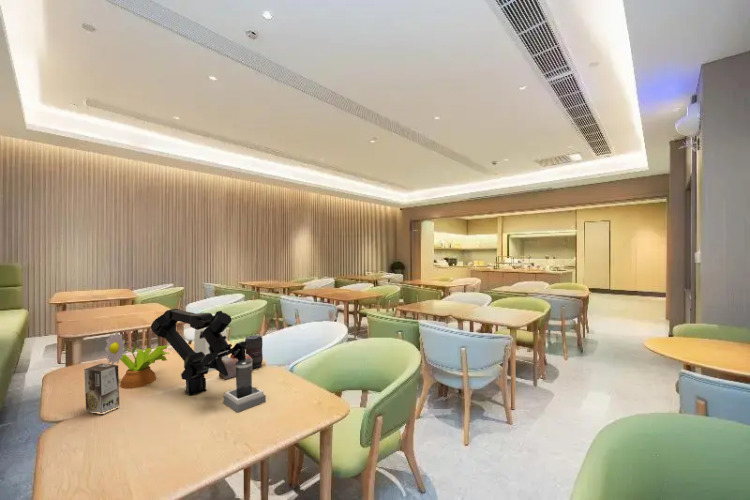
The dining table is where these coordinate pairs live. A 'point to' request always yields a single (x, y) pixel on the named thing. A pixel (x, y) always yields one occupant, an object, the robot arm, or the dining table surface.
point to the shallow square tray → (244, 399)
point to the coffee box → (101, 387)
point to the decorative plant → (138, 370)
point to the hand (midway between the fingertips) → (236, 371)
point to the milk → (204, 344)
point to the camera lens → (254, 350)
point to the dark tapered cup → (243, 378)
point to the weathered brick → (231, 366)
